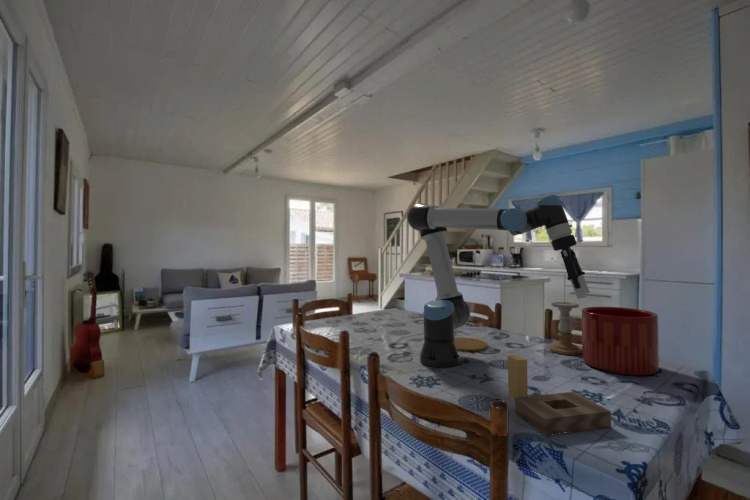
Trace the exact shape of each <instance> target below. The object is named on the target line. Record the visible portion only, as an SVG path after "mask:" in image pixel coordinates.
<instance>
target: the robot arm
mask: <svg viewBox="0 0 750 500" xmlns="http://www.w3.org/2000/svg"><path fill="white" fill-rule="evenodd" d="M406 219H407V222H408V225H409V227H410V228H412V229H413V230H415V231H416V232H417V231H418V232H419V233H420V238H421V240H423V241H425V245H426V249H427V255H428V257H429V261H430V262H429V263H430V265H431V271H432V275H433V279H434V284H435V288H436V291H437V296H436V298H435V300H430V301H427V302H425V304H424V306H423V313H422V314H423V336H424V338H423V345H422V348H421V352H420V355H419V362H420V363H421V364H423V365H424V366H428V367H433V368H443V369H444V368H451V367H455V366H456V367H457V366H458V365H459V364H460V355H459V352H458V349H457V347H456V343H455V330H456V329H458V328H462V327H464V325H466V323H468V322H469V319H470V317H471V308H470V305H469V304H468V303H467V302H466V301H465V300H464V297H463V293H461V292H460V291H459V289H458V287H457V282H456V277H455V274H454V269H453V265H452V262H451V257H450V252H449V249H448V244H447V241H446V236H447V234H448V229H447V228H454V229H471V230H472V229H473V230H474V229H475V230H493V231H494V230H495V231H496V230H497V231H508V233H509V234H511V236H514V237H515V236H518V235H523V234H524V233H527V232H530V231H533V230H535V229H538V228H542V227H545V231H546V233H547V236H548V239H549V240H551V242H550V244H551V246H552V249H553V250H554V252H555V251H560V250H561V251H560V254H561V258H562V260H563V264H564V266H565V270H566V274H567V277H566V279H567V281H570V282H571V285H572V288H573V291H574V293H575V297H576V299H577V300H579V299H584V298H588V296H587V294H589V293H590V289H589V286H588V284H587V282H586V279H585V276H584V275H586V274H585V271H583V270H582V268H581V265H580V264H579V261H578V258H577V256H576V252H575V251H574V249H573V248H572V249H571V247H573V246H577V244H578V241H576V237H575V235H574V234H572V233H573V230H572V227H573V225H572V224H570V223H569V220H568V217H567V214H566V211H565V209H564V206H563V203H562V202H561V200H560V197H559V195H556V194H549V195H547V196H543V197H542V198H540V199H538V200H537V201H536V206H534V207H533V208H531V209H530V208H529V209H528V210H525V211H524V210H522V209H520V208H517V207H511V208H479V207H477V208H475V207H474V208H473V207H472V208H471V207H439V206H438V205H435V204H426V203H416V204H414V205H412V206H411V207H409V210H408V212H407V218H406Z"/></svg>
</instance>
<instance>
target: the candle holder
mask: <svg viewBox="0 0 750 500" xmlns="http://www.w3.org/2000/svg"><path fill="white" fill-rule="evenodd" d="M550 306H552V307H554V308H557V309H558V311H559V312H560V314H559V315H558V319H559V323H558V325H557V326H558V327H557V329H558V333H557V336H558V338H559V339H558V342H554V343H553V344H550V345H549V351H551V352H553V353H556V354H559V355H565V356H566V355H567V356H579V355H582V347H579V346H578V345H577V344H575V343H573V342H572V341H573V340H572V339H573V337H574V335H573V333H572V332H573V326H572V323H571V320H572V319H573V318H572V316H571V315H570V313H571V311H573V309H577V308H580V307H579V306H580V304H578V303H576V302H570V301H569V302H566V301H560V302H559V301H555V302H554V301H553V302H551V303H550Z"/></svg>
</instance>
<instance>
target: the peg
mask: <svg viewBox="0 0 750 500" xmlns="http://www.w3.org/2000/svg"><path fill="white" fill-rule="evenodd" d="M507 385H508V386H507V389H508V393H507V394H508V396H509V397H511V399H513V400H514V401H515V398H517V397H527V396H528V394H529V393H528V392H529V391H528V359H527V358H524V357H523V356H521V355H518V354H509V355H507Z"/></svg>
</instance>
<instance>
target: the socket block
mask: <svg viewBox="0 0 750 500" xmlns="http://www.w3.org/2000/svg"><path fill="white" fill-rule="evenodd" d="M514 413H515V414H516V415H518V416H519V417H520V418H521V419H523V420H524V421H525V422H526V421H527V422H526V423H528V424H529V423H530V424H531V425H532V426H531V425H530V424H529V425H530V426H531V427H533V428H534V429H535V428H536V429H537V430H536V429H535V430H536V431H538V432H539V433H540V434H542V435H543V436H544V435H546V436H545V437H548V436H547V435H550V436H553V435H552V434H558V435H560V434H559V433H564V432H574V433H579V432H578V431H582V432H588V430H590V431H597V430H596V429H598V430H605V428H606V429H611V428H612V411H611V410H609V409H607V408H605V407H603V406H601V405H599V404H598V403H596V402H594V401H592V400H591V399H588V398H587V397H585V396H583V395H581V394H579V393H577V392H575V391H569V392H557V393H551V394H550V393H549V394H539V395H529V396H527V397H517V398H515V400H514Z"/></svg>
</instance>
